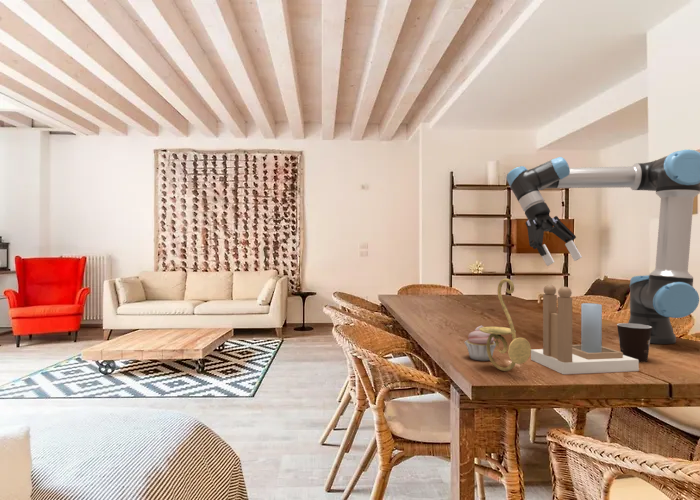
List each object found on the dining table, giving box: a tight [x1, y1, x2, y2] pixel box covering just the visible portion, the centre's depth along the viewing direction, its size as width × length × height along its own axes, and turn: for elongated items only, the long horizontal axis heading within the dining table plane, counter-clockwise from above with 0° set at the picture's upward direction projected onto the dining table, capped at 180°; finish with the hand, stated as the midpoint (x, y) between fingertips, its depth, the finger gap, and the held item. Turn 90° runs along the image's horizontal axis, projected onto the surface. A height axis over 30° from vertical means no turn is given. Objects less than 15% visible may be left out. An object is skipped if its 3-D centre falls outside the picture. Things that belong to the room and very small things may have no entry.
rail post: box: [580, 302, 603, 353], centre depth 119 cm, size 5×5×14 cm
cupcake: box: [464, 325, 497, 362], centre depth 126 cm, size 9×9×10 cm
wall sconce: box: [479, 278, 532, 372], centre depth 113 cm, size 14×10×25 cm
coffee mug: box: [616, 322, 652, 363], centre depth 126 cm, size 12×9×10 cm
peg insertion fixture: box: [530, 284, 640, 375], centre depth 119 cm, size 22×15×23 cm
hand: (564, 261), depth 138 cm, fingers open, 13 cm apart
